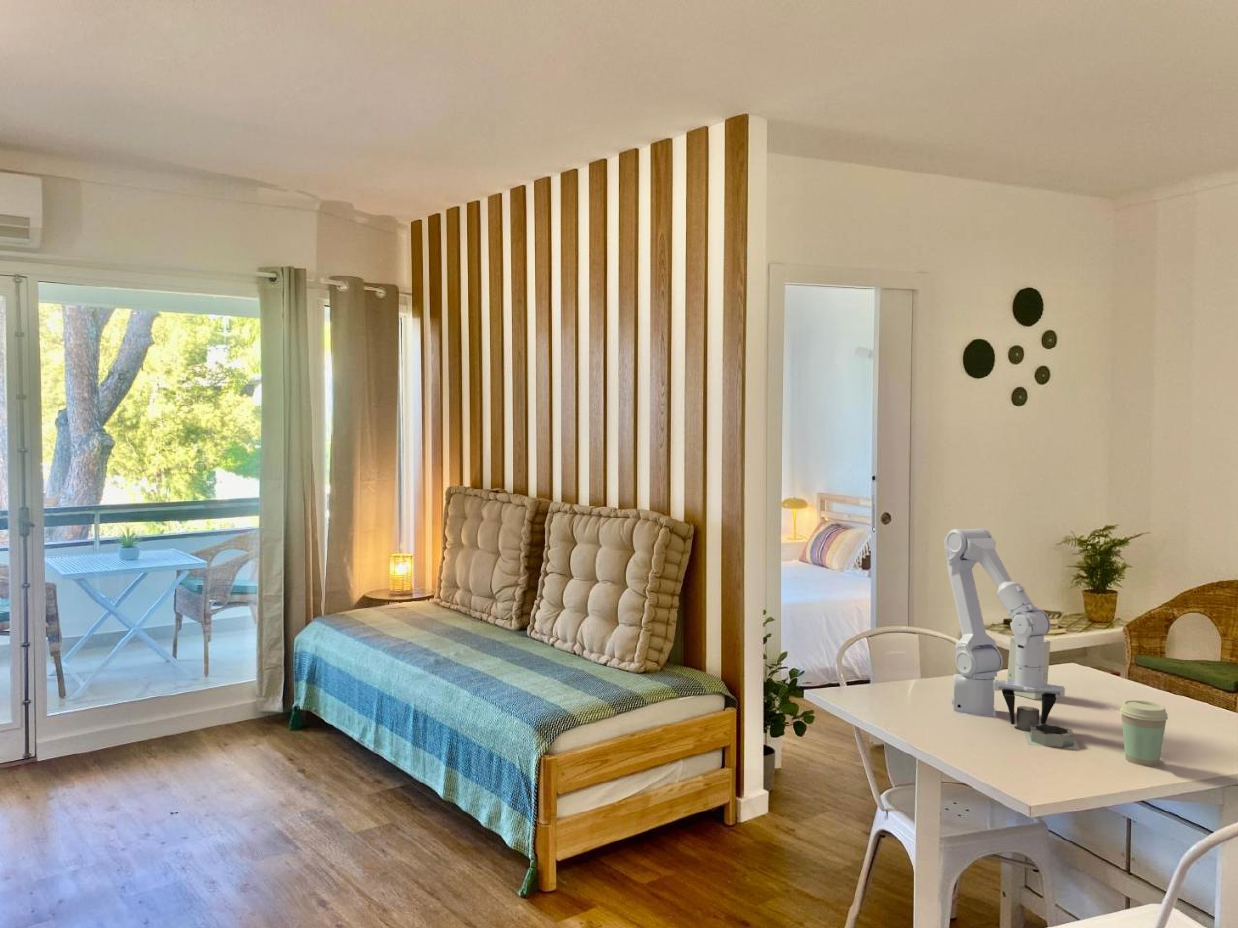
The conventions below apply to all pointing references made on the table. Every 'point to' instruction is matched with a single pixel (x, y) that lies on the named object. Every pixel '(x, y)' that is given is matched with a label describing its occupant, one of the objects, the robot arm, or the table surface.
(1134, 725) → the coffee cup
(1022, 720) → the cap
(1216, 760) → the table surface
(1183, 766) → the table surface
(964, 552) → the robot arm
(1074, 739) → the plate
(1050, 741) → the octagonal ring mount
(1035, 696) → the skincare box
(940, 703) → the table surface
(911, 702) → the table surface
